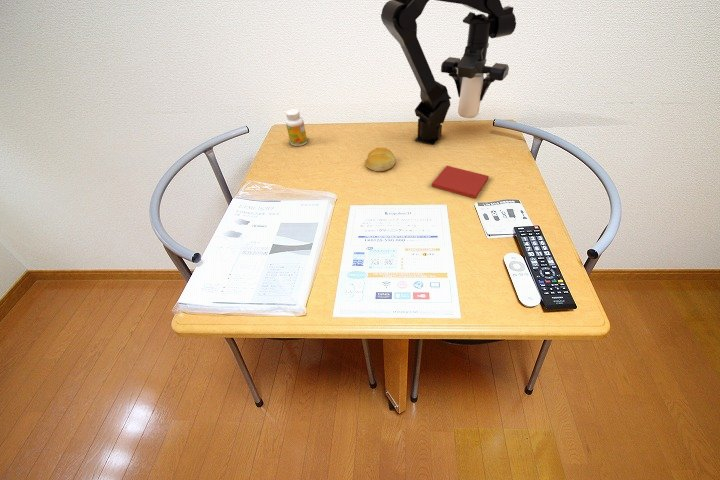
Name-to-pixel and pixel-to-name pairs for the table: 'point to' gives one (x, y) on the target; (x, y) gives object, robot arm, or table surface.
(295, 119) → the supplement bottle
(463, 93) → the can
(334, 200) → the table surface
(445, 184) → the pad
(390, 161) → the bread roll
